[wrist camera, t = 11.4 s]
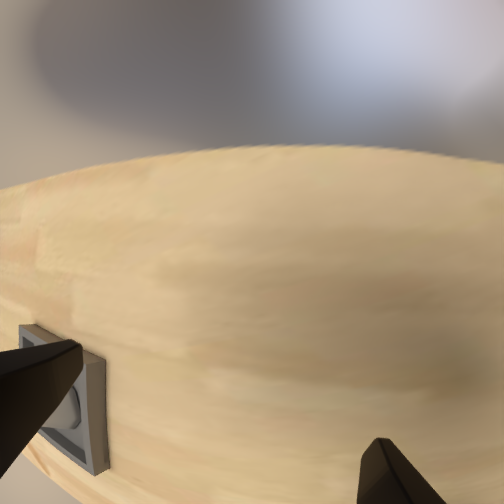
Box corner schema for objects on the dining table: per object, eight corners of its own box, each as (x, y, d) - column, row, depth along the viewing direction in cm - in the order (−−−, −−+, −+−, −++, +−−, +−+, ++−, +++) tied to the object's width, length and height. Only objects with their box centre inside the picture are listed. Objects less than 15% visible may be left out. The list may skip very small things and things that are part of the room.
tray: (110, 467, 23) (94, 476, 20) (40, 418, 27) (26, 422, 24) (105, 360, 24) (86, 364, 21) (35, 324, 28) (18, 324, 26)
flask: (62, 432, 24) (-6, 453, 15) (37, 375, 26) (-32, 385, 17) (92, 423, 23) (13, 451, 13) (63, 357, 25) (-19, 368, 15)
